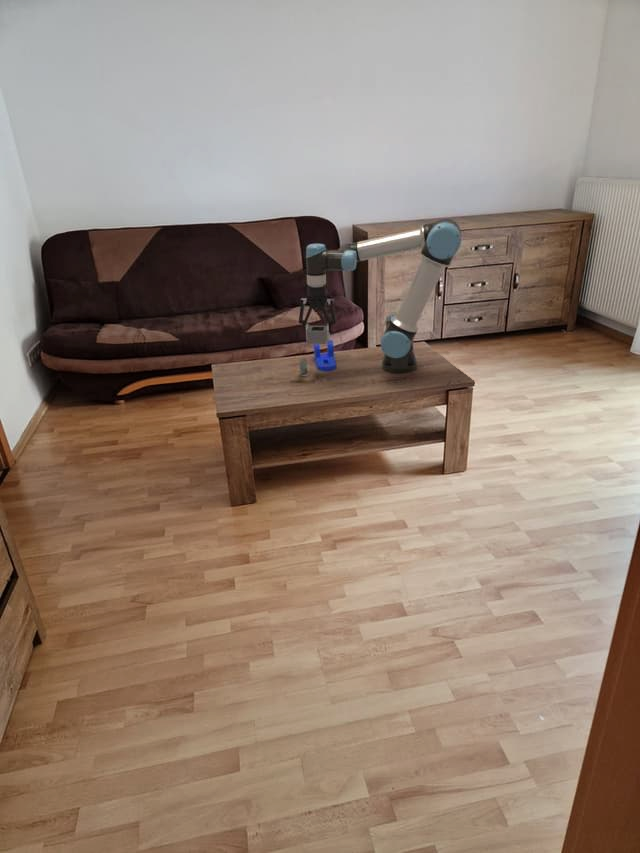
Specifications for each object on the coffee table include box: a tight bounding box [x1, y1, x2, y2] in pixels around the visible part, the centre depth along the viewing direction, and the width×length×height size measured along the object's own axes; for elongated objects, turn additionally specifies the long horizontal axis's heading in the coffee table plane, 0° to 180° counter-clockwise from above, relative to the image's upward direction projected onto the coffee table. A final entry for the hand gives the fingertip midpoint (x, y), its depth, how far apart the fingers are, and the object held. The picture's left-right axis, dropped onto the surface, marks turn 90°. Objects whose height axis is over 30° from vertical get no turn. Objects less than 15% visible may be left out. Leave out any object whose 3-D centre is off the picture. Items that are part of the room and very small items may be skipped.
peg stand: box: [290, 358, 318, 384], centre depth 239 cm, size 10×10×8 cm
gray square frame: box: [306, 325, 327, 345], centre depth 234 cm, size 8×8×5 cm
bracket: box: [313, 339, 337, 372], centre depth 253 cm, size 18×8×9 cm, turn 6°
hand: (318, 339), depth 235 cm, fingers closed on gray square frame, 8 cm apart
